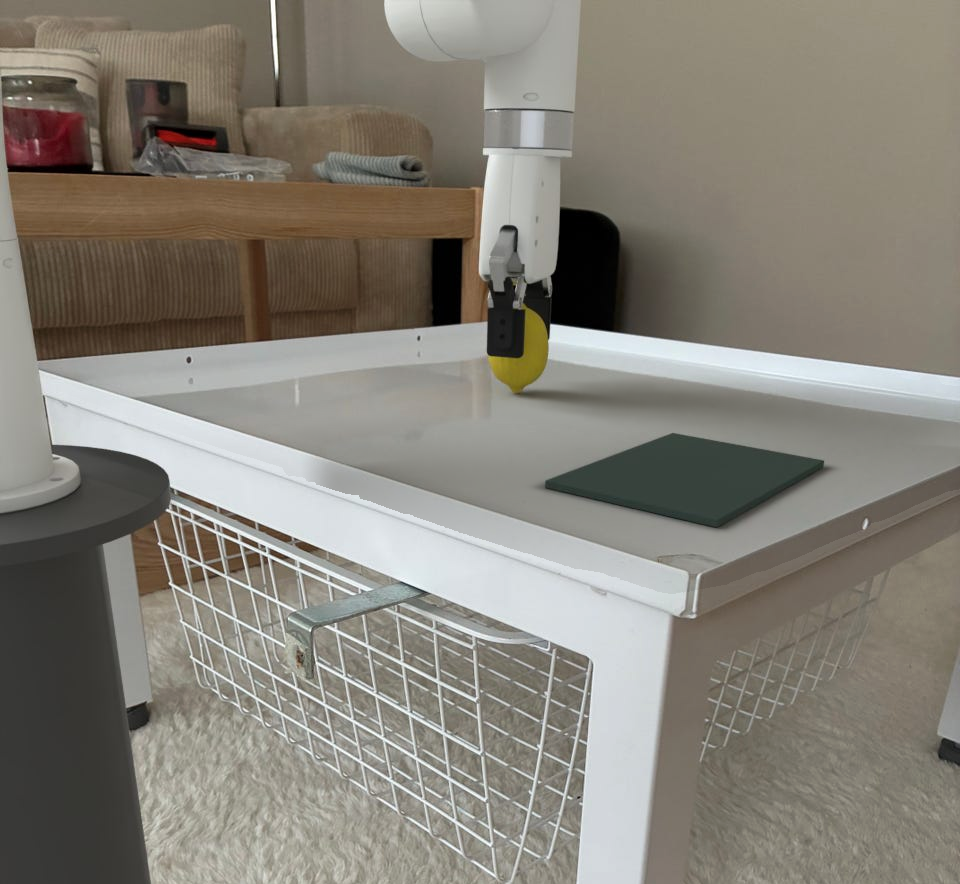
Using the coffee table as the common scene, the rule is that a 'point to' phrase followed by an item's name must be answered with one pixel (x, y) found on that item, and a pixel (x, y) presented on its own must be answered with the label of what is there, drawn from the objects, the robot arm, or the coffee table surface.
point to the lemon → (524, 356)
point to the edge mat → (688, 478)
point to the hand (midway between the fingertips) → (519, 348)
